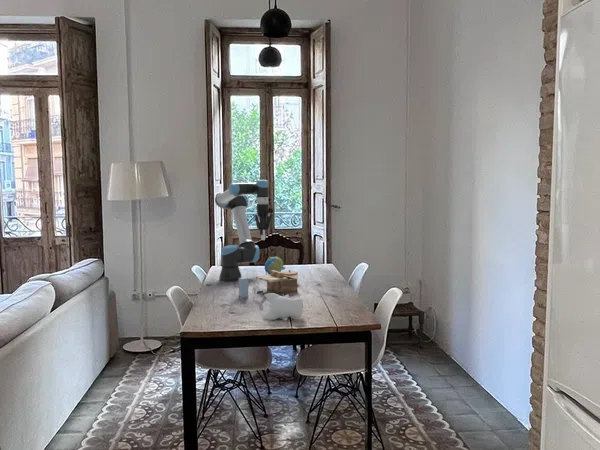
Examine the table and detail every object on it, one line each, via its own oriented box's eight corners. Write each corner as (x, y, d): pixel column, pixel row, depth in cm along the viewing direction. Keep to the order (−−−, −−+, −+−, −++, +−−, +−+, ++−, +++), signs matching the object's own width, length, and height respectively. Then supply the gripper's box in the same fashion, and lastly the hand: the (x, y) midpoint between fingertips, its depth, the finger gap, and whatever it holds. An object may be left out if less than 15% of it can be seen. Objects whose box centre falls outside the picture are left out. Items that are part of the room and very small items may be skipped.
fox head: (304, 298, 279) (265, 295, 279) (303, 293, 263) (263, 291, 263) (302, 324, 275) (263, 321, 276) (302, 321, 259) (260, 318, 260)
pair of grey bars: (256, 292, 327) (256, 290, 326) (262, 291, 329) (262, 290, 329) (263, 295, 320) (263, 293, 320) (268, 294, 323) (268, 292, 322)
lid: (255, 278, 331) (255, 271, 330) (272, 275, 338) (272, 269, 337) (269, 282, 317) (269, 275, 317) (287, 280, 324) (287, 273, 324)
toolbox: (267, 289, 336) (267, 276, 335) (283, 287, 342) (283, 274, 342) (280, 294, 323) (280, 280, 322) (297, 291, 329) (297, 278, 329)
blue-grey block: (239, 296, 318) (238, 277, 317) (245, 295, 320) (244, 277, 319) (242, 297, 314) (242, 278, 313) (248, 296, 317) (248, 278, 316)
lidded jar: (288, 286, 345) (288, 272, 344) (278, 283, 353) (278, 269, 352) (301, 284, 352) (301, 270, 351) (291, 281, 360) (291, 268, 359)
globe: (265, 252, 388) (272, 256, 374) (284, 257, 395) (292, 261, 381) (259, 271, 388) (267, 275, 374) (279, 275, 395) (287, 280, 381)
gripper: (256, 204, 341) (257, 241, 343) (274, 203, 348) (274, 239, 351) (251, 203, 347) (251, 240, 349) (268, 203, 355) (268, 238, 357)
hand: (263, 239), depth 350 cm, fingers closed
